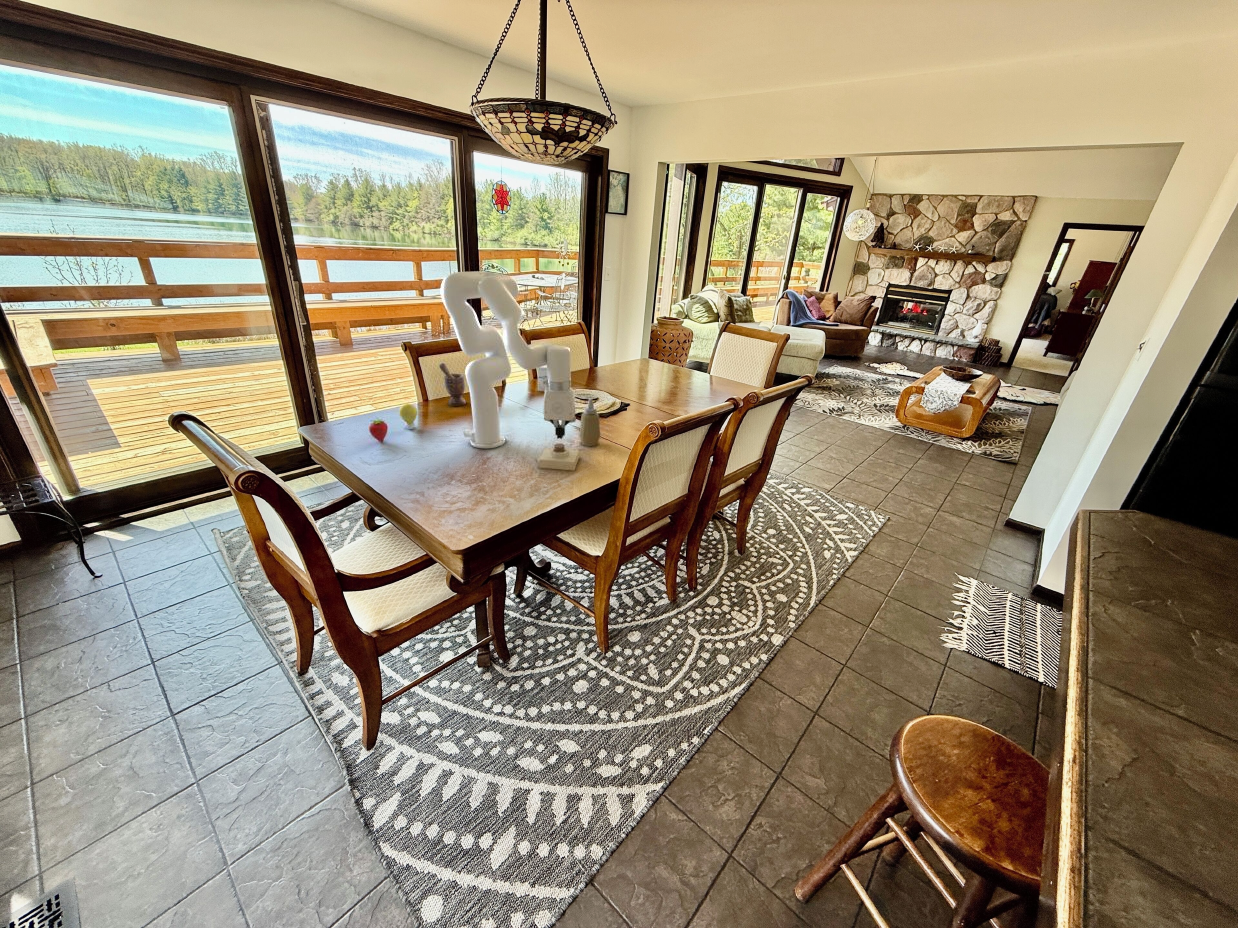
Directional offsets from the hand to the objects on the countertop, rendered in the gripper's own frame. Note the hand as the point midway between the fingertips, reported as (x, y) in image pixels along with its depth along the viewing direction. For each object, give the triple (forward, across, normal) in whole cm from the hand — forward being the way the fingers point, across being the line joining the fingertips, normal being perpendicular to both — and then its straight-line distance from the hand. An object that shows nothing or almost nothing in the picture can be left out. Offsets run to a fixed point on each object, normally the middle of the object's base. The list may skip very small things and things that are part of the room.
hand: (560, 437), depth 164 cm
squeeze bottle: (+10, +8, +19) cm, 23 cm away
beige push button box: (+10, 0, 0) cm, 10 cm away
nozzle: (+5, 0, 0) cm, 5 cm away
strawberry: (+9, -68, +6) cm, 69 cm away
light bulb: (+9, -64, +21) cm, 68 cm away
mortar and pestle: (+9, -58, +52) cm, 79 cm away
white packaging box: (+9, -24, +84) cm, 88 cm away
